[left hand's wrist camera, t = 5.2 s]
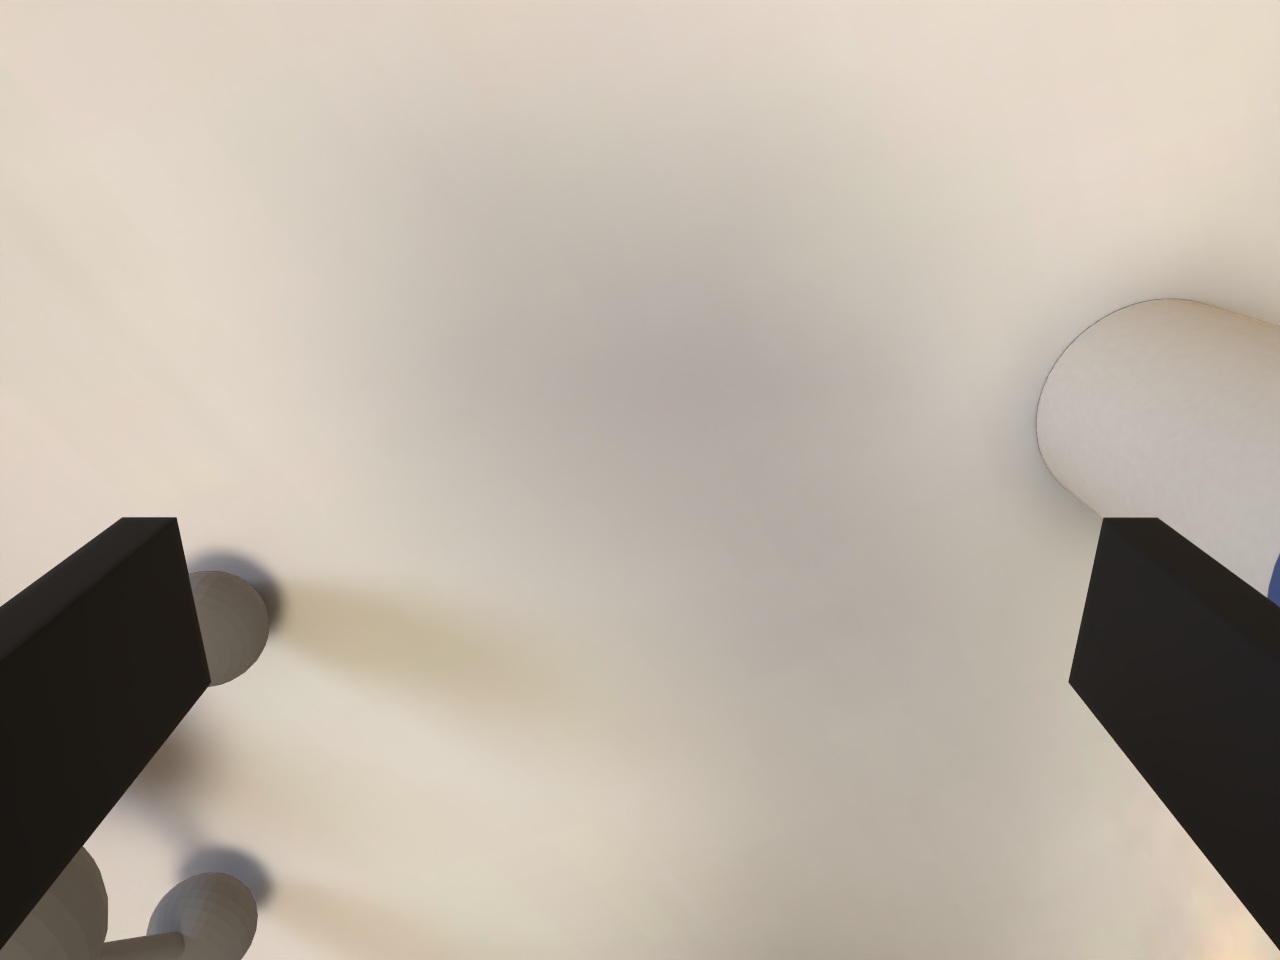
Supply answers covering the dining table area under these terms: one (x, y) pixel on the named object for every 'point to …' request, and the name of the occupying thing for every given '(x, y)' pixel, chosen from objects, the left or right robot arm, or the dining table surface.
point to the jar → (1174, 427)
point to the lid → (1275, 584)
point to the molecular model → (201, 905)
